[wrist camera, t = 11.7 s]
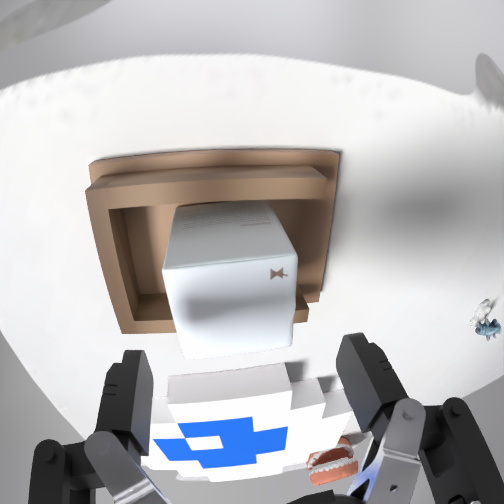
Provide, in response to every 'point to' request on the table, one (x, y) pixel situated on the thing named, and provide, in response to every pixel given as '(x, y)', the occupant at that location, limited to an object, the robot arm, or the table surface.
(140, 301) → the U-rest
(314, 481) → the dentures
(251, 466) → the pixel art tile
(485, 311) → the sculpture
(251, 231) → the product box
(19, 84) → the table surface
